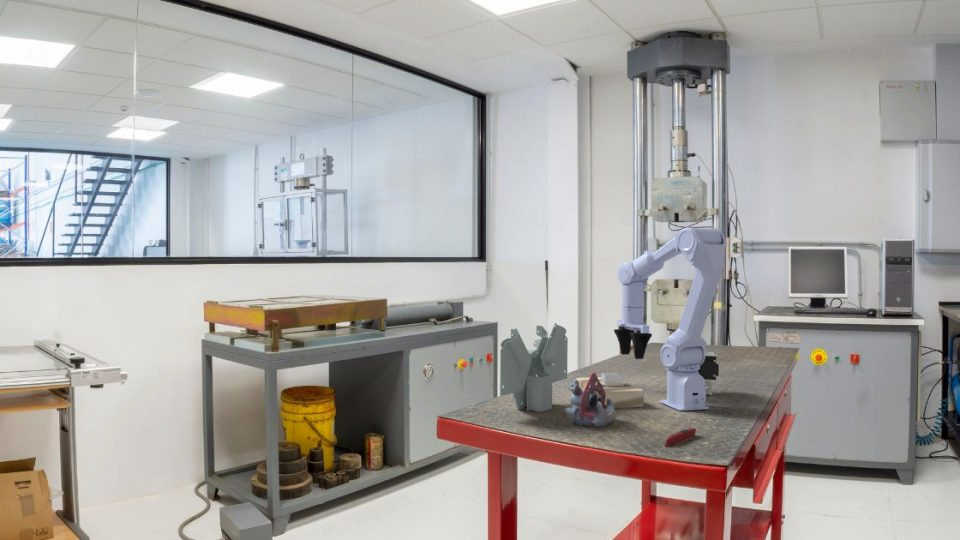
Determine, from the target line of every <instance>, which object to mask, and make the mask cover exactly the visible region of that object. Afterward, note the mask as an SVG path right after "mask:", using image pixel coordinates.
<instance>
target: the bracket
mask: <svg viewBox="0 0 960 540" xmlns="http://www.w3.org/2000/svg"><path fill="white" fill-rule="evenodd" d="M535 328H536V333H535V334H536V336H538V337H540V338H538V339H535V340H534V342H533V345H532V346H533V347H535V348H536V349H527V347H526V344H525V343H524V341H523V339H522V337H521V335H520V332H519V330H518V329H517V328H510V337H507V338H505V339H504V340H502V341H501V343H500V347H501V349H500V351H499V353H500V358H499V360H500V361H499V362H500V365H499V367H500V370H499V371H500V374H499V376H500V377H499V381H500V384H499V386H500V387H499V390H500V391H499V397H502V396H507V395H511V394H512V397H513V399H514V400H513V401H514V403H515V406H516V409H517V410H518V411H519V410H523V409H525V407H526V411H535V412H539V413H541V412H543V413H544V412H546V411H549V410H552V409H553V383H555V382H560V381H564V380H567V379H568V345H569V344H568V339H569V338H568V336H567V335H566V333H567V329H566V328H565V327H564V326H562V325H559V324H557V323H556V322H554V325H553V327H552V330H551V332H550V334H549V337H547V335H548V331H547V330H546V329H545V328H544V326H543V325H536V327H535Z"/></svg>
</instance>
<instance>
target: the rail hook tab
mask: <svg viewBox="0 0 960 540" xmlns="http://www.w3.org/2000/svg"><path fill="white" fill-rule="evenodd" d="M600 377H601V384H602V387H624V382H625V380H624V378H625V374H624V373H621V372H601V373H600Z"/></svg>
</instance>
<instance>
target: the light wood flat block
mask: <svg viewBox="0 0 960 540" xmlns="http://www.w3.org/2000/svg"><path fill="white" fill-rule="evenodd" d="M575 378H576V379H575V380H578V382H579V387H580V388H581V389H585V387H586V385H587V382H588V380H589V378H590V376H589V377H587V376H586V377H575ZM597 378H598V380H599V381H600V383H601V376H597ZM596 385H597V383H596ZM589 388H590V386H589ZM603 389H604V391H605V394H606V398H605V405H607V398H611V399H612V402H613V406H614V409H624V408H627V409H628V408H642V407H644V402H645V401H644V400H645V399H644V397H645V392H644V391H645V390H644V389H641V388H639V387H638V386H634V385H632V384H629V383H627V382H625V381H624V387H603ZM594 392H595V393H596V394H597V398H598V397H599V393H598V392H597V391H594Z"/></svg>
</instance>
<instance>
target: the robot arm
mask: <svg viewBox="0 0 960 540" xmlns="http://www.w3.org/2000/svg"><path fill="white" fill-rule="evenodd" d="M727 244H728V241H726V238H725V236H724V234H723V232H722V231H721V230H720V229H719V228H713V227H712V228H703V227H702V228H699V227H698V228H695V227H691V226H689V227H688V226H687V227H684V228H683V229H681V230H679V231H677V232H675V236H674V237H673V238H672V239H670V240H669V241H667V242H666V243H665V244H663V245H662V246H661V247H660V248H659V249H657V250H653V249H646V250H644V251H643V254H641V255H640V256H639V257H637V258H633V260H632V261H631V262H622V263H621V264H620V266H619V267H618V269H617V278H618V282H620V283H621V320H616V329H615V328H614V329H613V332H614V334H615V336H616V338H617V341H618V345H619V349H620V352H621V355H623V356H625V355H628V356H629V355H630V353H631V348H632V347H631V344H632V345H633V355H634V359H635V360H643V359H644V358H645V357H644V356H645V354H646V349H647V346H648V344H649V342H650V340H651V338H652V336H653V334H652V332H651V333H650V325H647V324H646V323H644V302H645V301H644V296H645V295H644V290H645V289H646V286H647V285H646V283H647V282H648V280H649V277H650V276H652V275H654V274H656V273H657V272H659V271H660V270H662V269H663V267H664V266H665V262H667V261H669V260H671V259H672V258H674V257H676V256H678V255H680V254H682V255H683V256H684V257H685V258H686V260H687V261H688V262H689V263H690V264H691V265H692V266H693V267H694V269H695V274H694V277H693V280H692V283H691V287H690V289H689V292H688V296H687V300H686V302H685V305H684V309H683V311H682V315H681V318H680V320H679V321H680V322H679V323H678V327H677V329H676V330H675V331H674V332H673V333H671V334H670V335H669V336H668V337H667V340H666V342H665V343H664V344H663V345H662V346H661V348H660V353H659V357H660V361H661V363H662V365H663V366H664V369H665V370H666V399H660V400H659V402H660V404H662V405H663V404H664V405H666V406H668V407H671V408H673V409H676V410H678V411H679V412H680V411H682V412H686V411H697V410H709V409H710V408H709V406H707V394H706V388H707V386H706V382H705V380H704V378H703V377H702V376H701V375H699V373H698V370H699V369H700V365H702V364H703V362H704V360H705V349H706V347H707V345H708V344H707V341H706V340H705V339H704V337H702V333H703V330H704V327H705V325H706V320H707V318H708V315H709V312H710V310H711V306H712V304H713V300H714V298H715V295H716V291H717V288H718V286H719V282H720V279H721V277H722V274H723V269H724V254H725V251H726V248H727Z"/></svg>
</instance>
